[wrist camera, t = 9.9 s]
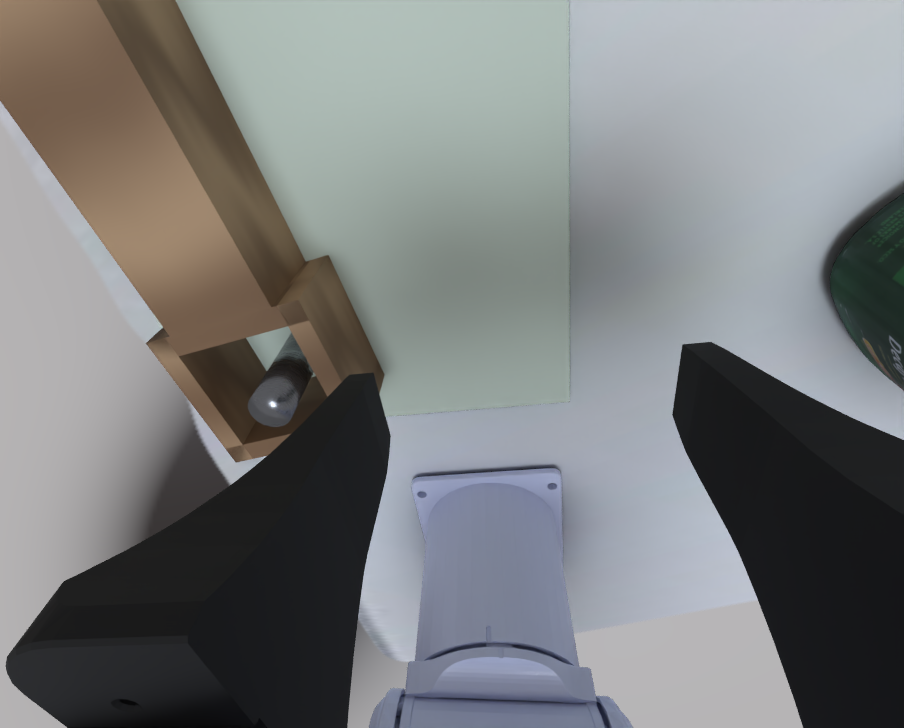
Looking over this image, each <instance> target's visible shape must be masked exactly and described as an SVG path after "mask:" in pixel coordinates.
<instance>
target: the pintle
mask: <svg viewBox="0 0 904 728" xmlns="http://www.w3.org/2000/svg"><path fill="white" fill-rule="evenodd" d="M312 375H313V370H312V368H311V366H310V364H309V363H308V361H307V359H306V357H305V356H304V354H303V352H302V350H301V348H300V347H299V345H298V343H297V341H296V339H295V338H294V336H293V334H292V332H291V334H290V335H289V337H288V339H287V340H286V342H285V343H284V345H283V347H282V348H281V350H280V351H279V353H278V355H277V356H276V358H275V359H274V361H273V363H272V364H271V366H270V368H269V369H268V371H267V372H266V374H265V376H264V377H263V379H262V380H261V382H260V384H259V385H258V387H257V388H256V390H255V392H254V393H253V395H252V397H251V398H250V400H249V402H248V410H249V412H250V414H251V416H252V417H253V418H254V419H255V420H256V421H258V422H259V423H261V424H263V425H266V426H270V427H280V426H284V425H286V424H287V423H289V421H290V420H291V418H292V416H293V414H294V412H295V410H296V408H297V406H298V404H299V402H300V400H301V397H302V395H303V393H304V391H305V389H306V387H307V385H308V383H309V381H310V379H311V377H312Z"/></svg>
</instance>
